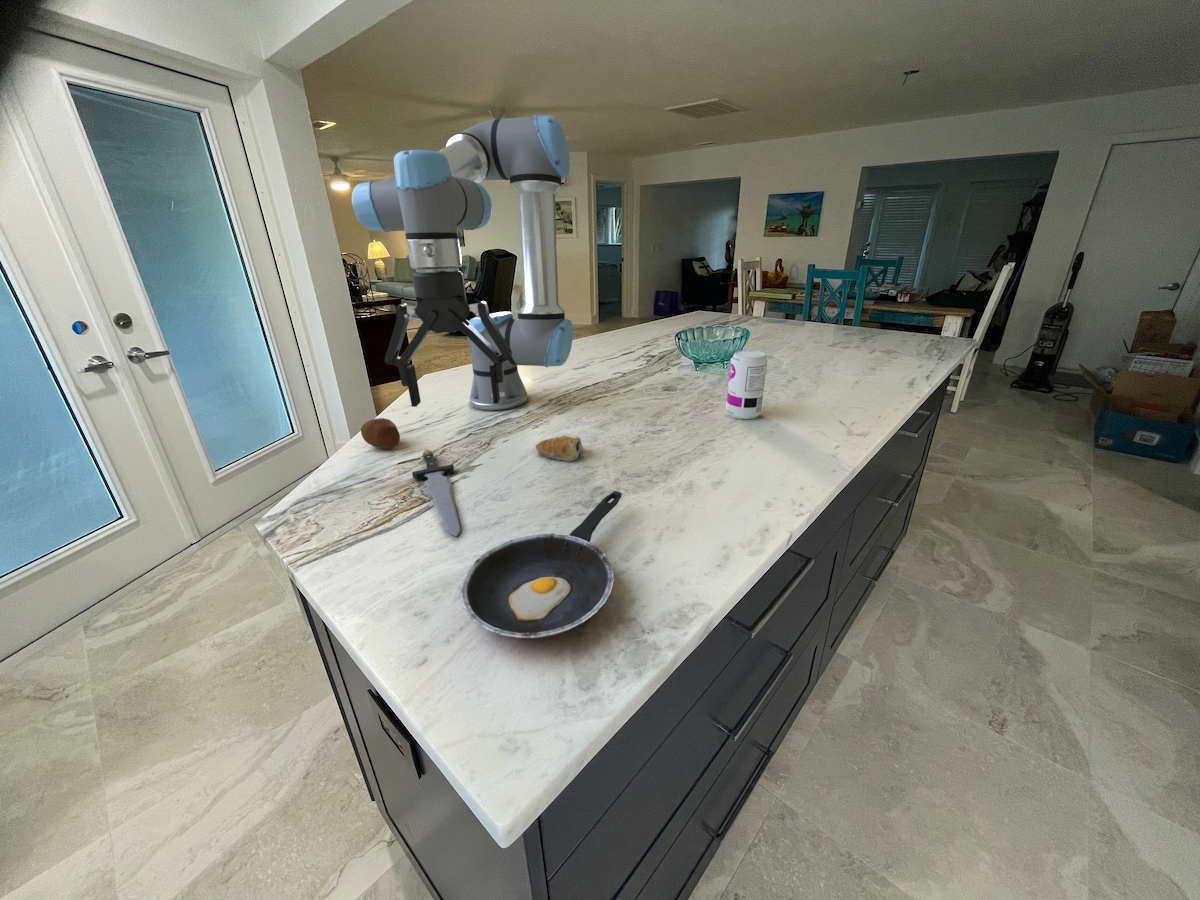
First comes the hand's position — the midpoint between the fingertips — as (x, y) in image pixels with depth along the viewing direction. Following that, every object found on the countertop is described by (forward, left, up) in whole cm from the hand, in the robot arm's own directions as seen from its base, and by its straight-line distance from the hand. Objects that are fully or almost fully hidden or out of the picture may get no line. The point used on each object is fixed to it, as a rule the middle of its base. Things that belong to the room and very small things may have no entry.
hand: (456, 402), depth 80 cm
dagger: (+3, -5, -16) cm, 17 cm away
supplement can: (-32, +59, -16) cm, 69 cm away
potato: (-17, -24, -16) cm, 34 cm away
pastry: (-11, +16, -16) cm, 25 cm away
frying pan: (+24, +20, -16) cm, 35 cm away
